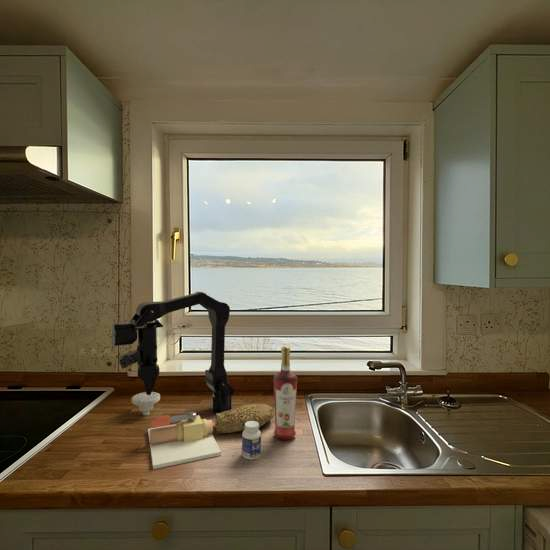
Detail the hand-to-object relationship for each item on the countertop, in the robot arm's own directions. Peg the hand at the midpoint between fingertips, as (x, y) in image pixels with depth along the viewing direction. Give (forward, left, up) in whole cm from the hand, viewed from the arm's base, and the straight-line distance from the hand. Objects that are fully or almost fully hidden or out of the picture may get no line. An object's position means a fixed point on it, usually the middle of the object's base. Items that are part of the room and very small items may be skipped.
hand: (148, 389), depth 115 cm
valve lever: (-7, +13, -6) cm, 16 cm away
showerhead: (0, -11, -13) cm, 17 cm away
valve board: (-9, +14, -13) cm, 20 cm away
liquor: (-39, +22, -13) cm, 46 cm away
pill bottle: (-26, +28, -13) cm, 40 cm away
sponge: (-30, +10, -13) cm, 34 cm away
